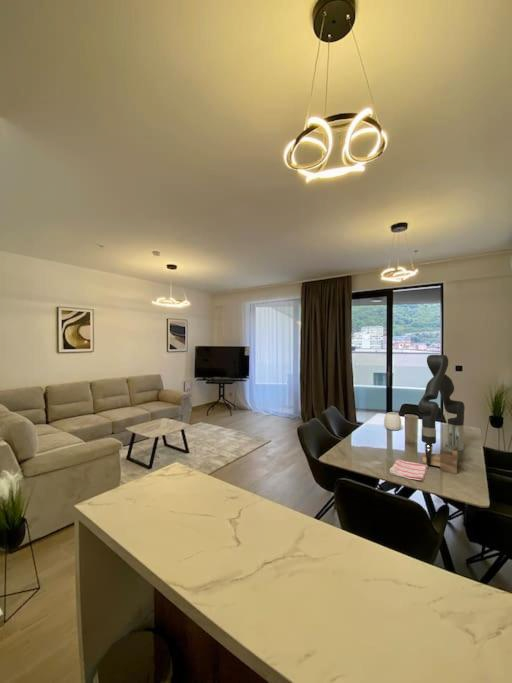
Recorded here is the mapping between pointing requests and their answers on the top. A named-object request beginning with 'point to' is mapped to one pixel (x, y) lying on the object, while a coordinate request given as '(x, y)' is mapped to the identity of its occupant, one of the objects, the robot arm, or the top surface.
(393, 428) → the cup
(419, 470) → the dish towel
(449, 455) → the wooden block holder
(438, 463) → the tan rectangular block
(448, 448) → the bracket
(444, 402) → the robot arm
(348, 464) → the top surface
